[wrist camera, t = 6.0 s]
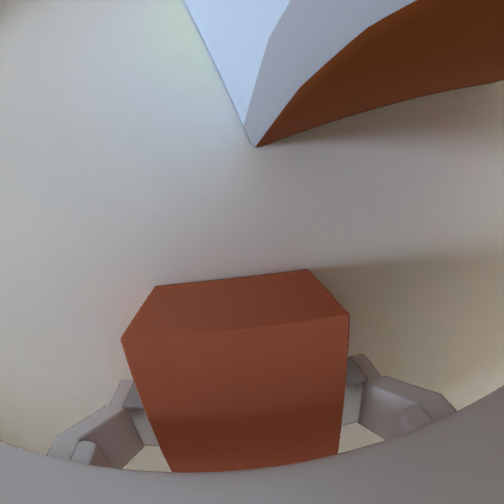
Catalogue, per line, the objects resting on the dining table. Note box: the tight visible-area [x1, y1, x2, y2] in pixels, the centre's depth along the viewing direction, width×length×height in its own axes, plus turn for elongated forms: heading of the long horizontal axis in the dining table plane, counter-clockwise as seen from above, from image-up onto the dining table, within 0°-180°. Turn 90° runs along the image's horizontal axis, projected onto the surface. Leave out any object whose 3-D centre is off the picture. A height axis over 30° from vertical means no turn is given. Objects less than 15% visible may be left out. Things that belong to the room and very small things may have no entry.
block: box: [121, 270, 349, 473], centre depth 9 cm, size 7×6×4 cm
